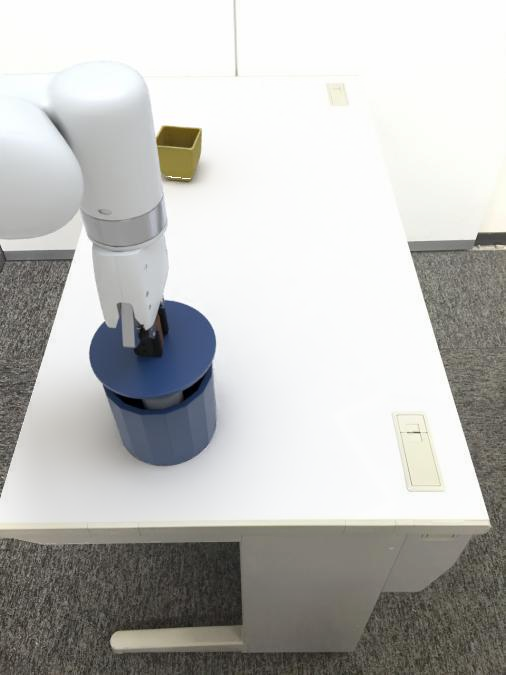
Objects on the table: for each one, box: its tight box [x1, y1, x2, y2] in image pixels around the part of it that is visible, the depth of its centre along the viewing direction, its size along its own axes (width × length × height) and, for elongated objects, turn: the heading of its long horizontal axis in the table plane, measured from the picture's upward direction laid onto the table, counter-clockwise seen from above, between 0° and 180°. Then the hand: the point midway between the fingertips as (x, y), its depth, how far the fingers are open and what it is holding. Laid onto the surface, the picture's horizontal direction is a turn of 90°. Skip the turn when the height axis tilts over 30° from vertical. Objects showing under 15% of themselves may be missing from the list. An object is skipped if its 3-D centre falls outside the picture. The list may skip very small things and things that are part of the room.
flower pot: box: [155, 124, 203, 182], centre depth 113 cm, size 9×9×9 cm
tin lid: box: [88, 299, 217, 399], centre depth 61 cm, size 15×15×6 cm
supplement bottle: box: [142, 391, 184, 410], centre depth 71 cm, size 5×5×10 cm
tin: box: [101, 361, 217, 467], centre depth 71 cm, size 14×14×12 cm
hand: (152, 342), depth 62 cm, fingers closed on tin lid, 2 cm apart
